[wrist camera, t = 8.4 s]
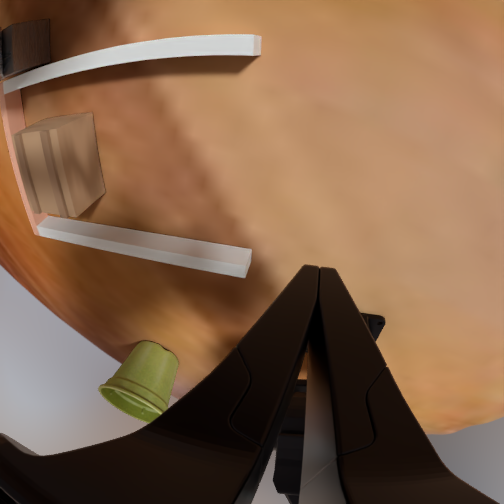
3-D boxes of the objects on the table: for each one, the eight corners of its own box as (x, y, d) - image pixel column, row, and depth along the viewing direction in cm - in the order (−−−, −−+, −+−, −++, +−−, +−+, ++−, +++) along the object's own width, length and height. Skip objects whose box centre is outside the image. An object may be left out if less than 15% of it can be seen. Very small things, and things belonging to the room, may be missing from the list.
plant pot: (115, 327, 36) (84, 379, 30) (174, 335, 34) (145, 398, 27) (145, 367, 42) (122, 414, 35) (200, 377, 39) (179, 432, 32)
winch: (50, 63, 16) (-16, 85, 11) (16, 76, 17) (-42, 100, 12) (50, -10, 12) (-17, -4, 7) (14, 11, 13) (-46, 24, 8)
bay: (251, 261, 24) (245, 278, 23) (46, 224, 28) (34, 234, 26) (261, 36, 14) (253, 34, 12) (13, 78, 17) (-3, 84, 16)
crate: (105, 192, 23) (74, 219, 20) (59, 188, 24) (29, 212, 21) (92, 112, 19) (53, 130, 15) (44, 118, 20) (8, 136, 16)
